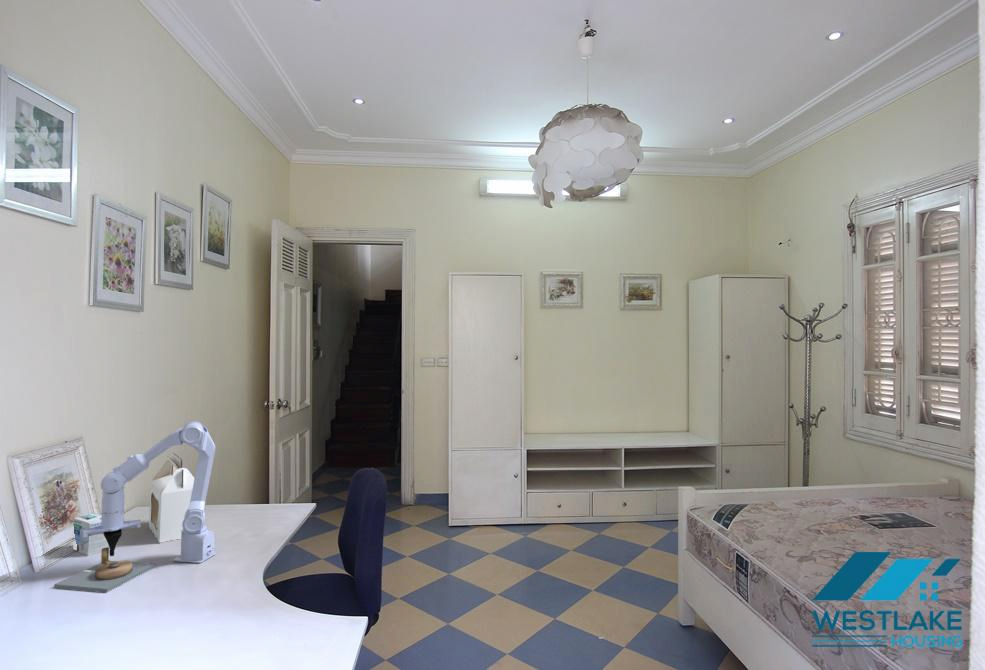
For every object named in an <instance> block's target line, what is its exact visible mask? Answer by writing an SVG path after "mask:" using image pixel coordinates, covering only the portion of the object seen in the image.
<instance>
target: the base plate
mask: <svg viewBox="0 0 985 670" xmlns="http://www.w3.org/2000/svg"><path fill="white" fill-rule="evenodd" d="M110 561H111V562H116V561H117V560H110ZM101 565H104V564H102V563H101V562H100V563H97V564H95V565H93V566H90V567H88V568H87V569H84V570H82V571H79V572H78V573H76V574H73V575H72V576H69V577H67V578H65V579H63V580H60V581H58V582H55V583H54V585H53V588H54V587H57V588H56V589H62V588H67V589H66V590H73V589H76V590H77V591H84V590H87V592H95V591H98V593H106V592H107V593H109V592H111V591H113V590H115V589H116V588H118V587H120V586H122V585H124V584H126V583H128V582H130V581H131V580H130V579H132V578H133V579H135V578H137V577H138V575H139V576H141V575H143V574H145V573H147V572H149V571H150V570H152V569H154V568H155V564H153V563H143V562H141V563H140V562H132V571H131V572H130V573H128V574H126V575H124V576H121V577H118V578H114V579H106V580H101V579H97V578H95V570H96V568H98V567H99V566H101ZM148 570H149V571H148ZM146 571H147V572H146ZM144 572H145V573H144ZM142 573H143V574H142ZM140 574H141V575H140ZM136 576H137V577H136ZM134 577H135V578H134ZM133 579H132V580H133ZM129 580H130V581H129ZM127 581H128V582H127ZM125 582H126V583H125ZM123 583H124V584H123ZM121 584H122V585H121ZM119 585H120V586H119ZM117 586H118V587H117ZM115 587H116V588H115ZM114 588H115V589H114ZM112 589H113V590H112ZM110 590H111V591H110ZM108 591H109V592H108Z"/></svg>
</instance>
